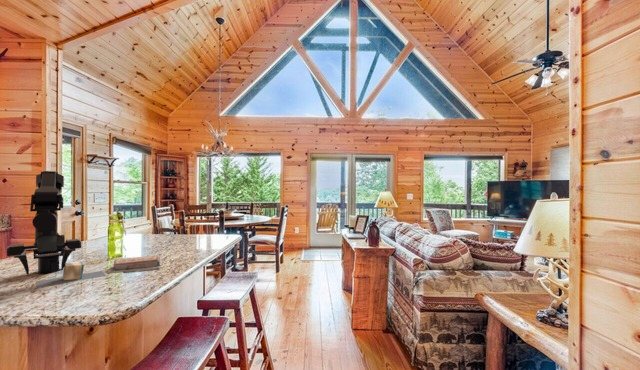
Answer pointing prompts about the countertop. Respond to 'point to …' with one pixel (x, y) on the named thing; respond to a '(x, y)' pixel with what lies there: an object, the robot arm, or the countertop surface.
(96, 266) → the countertop surface
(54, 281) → the mat
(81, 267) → the block
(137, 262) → the reddish brown brick
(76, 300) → the countertop surface
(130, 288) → the countertop surface
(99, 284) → the countertop surface
